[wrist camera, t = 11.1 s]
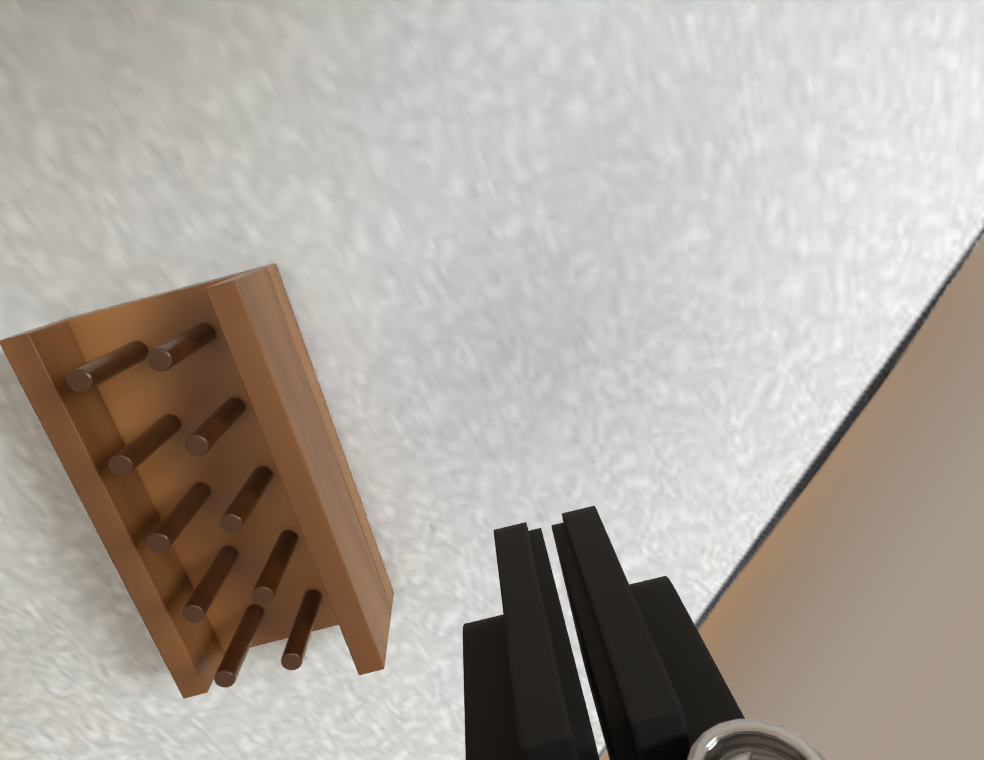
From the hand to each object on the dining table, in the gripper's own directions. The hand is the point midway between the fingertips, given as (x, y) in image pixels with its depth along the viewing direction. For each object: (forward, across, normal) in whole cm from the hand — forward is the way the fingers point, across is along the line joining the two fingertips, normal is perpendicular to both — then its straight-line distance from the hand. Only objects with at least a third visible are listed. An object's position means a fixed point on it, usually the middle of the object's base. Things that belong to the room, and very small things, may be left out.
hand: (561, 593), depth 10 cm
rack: (+20, +14, +4) cm, 24 cm away
